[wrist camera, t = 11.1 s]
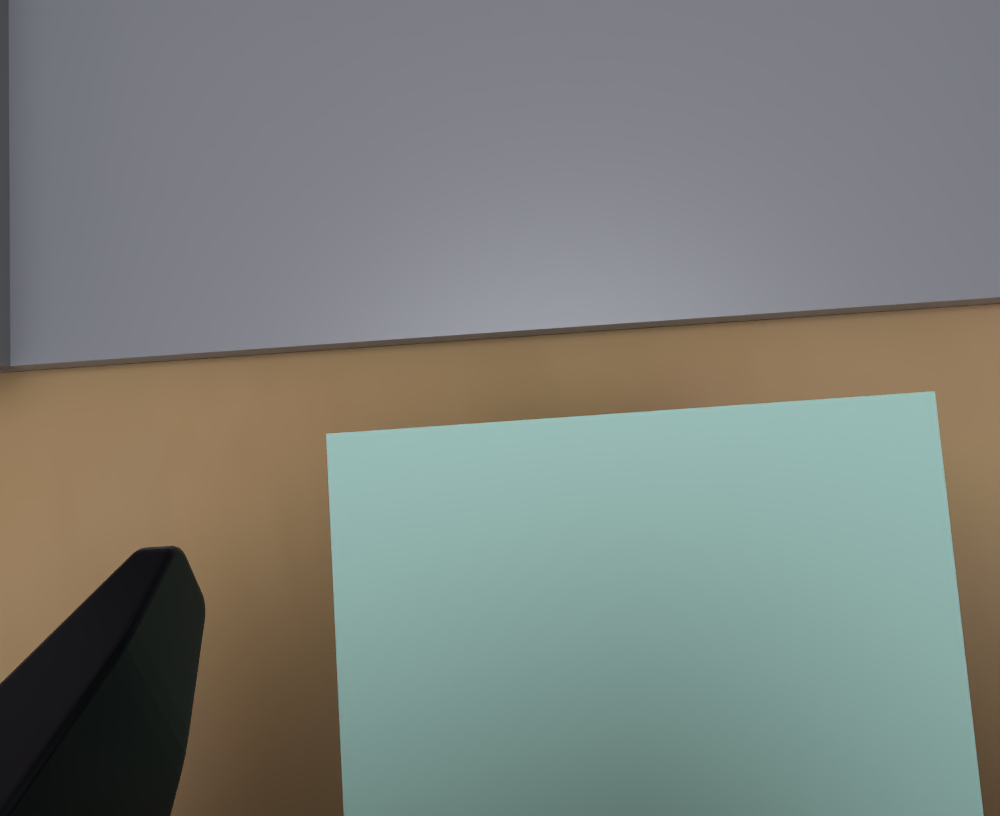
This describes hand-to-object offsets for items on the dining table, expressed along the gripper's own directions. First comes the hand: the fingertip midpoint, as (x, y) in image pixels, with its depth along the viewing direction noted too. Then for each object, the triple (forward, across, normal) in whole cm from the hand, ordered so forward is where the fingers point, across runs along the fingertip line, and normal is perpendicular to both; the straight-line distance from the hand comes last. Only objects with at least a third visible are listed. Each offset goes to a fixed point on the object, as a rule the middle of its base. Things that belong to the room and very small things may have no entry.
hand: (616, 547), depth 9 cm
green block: (+5, 0, +7) cm, 8 cm away
